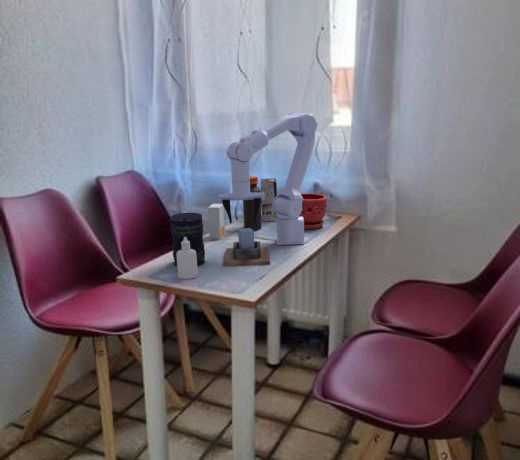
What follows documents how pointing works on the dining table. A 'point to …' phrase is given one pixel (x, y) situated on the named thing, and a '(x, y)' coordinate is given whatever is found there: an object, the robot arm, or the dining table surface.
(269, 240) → the dining table surface
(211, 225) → the skincare box
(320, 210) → the plant pot
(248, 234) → the peg
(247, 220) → the vinegar
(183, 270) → the eye dropper bottle
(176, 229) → the storage jar
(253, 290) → the dining table surface
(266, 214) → the coffee box
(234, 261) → the socket
